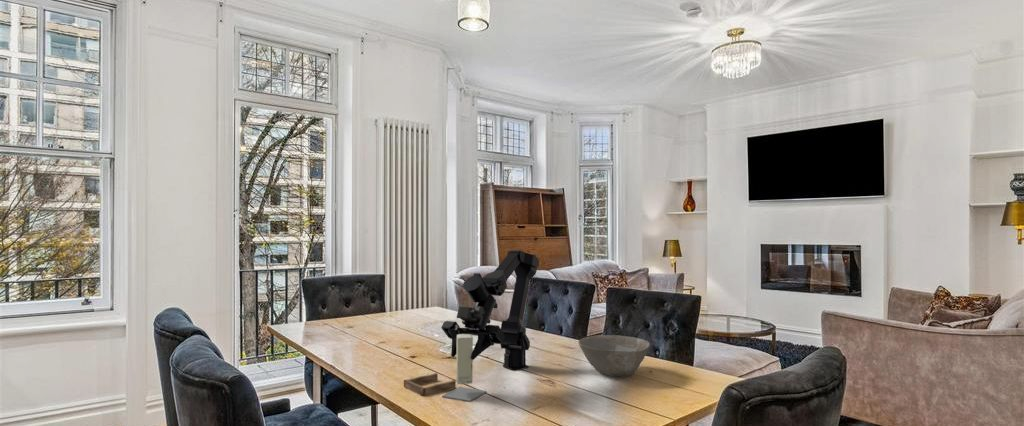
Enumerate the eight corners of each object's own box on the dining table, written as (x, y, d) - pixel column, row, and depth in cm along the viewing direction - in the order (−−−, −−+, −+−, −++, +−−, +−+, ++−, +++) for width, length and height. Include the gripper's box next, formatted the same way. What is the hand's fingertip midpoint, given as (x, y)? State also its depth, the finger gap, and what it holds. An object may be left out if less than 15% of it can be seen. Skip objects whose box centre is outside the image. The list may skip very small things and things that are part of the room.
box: (472, 384, 145) (473, 337, 145) (456, 384, 144) (457, 338, 144) (471, 378, 150) (471, 333, 150) (455, 378, 149) (456, 333, 149)
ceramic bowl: (622, 389, 150) (622, 354, 150) (564, 372, 167) (563, 341, 168) (665, 374, 165) (665, 342, 165) (607, 360, 182) (607, 331, 182)
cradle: (435, 379, 161) (435, 373, 161) (455, 387, 153) (455, 381, 153) (403, 386, 154) (403, 380, 154) (422, 396, 146) (422, 388, 146)
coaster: (459, 388, 153) (459, 386, 153) (486, 392, 148) (486, 390, 148) (442, 397, 145) (442, 395, 145) (469, 402, 140) (469, 400, 140)
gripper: (444, 293, 155) (422, 338, 145) (499, 297, 146) (479, 345, 136) (459, 315, 162) (439, 360, 152) (512, 320, 153) (494, 367, 143)
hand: (461, 357), depth 146 cm, fingers closed on box, 6 cm apart
